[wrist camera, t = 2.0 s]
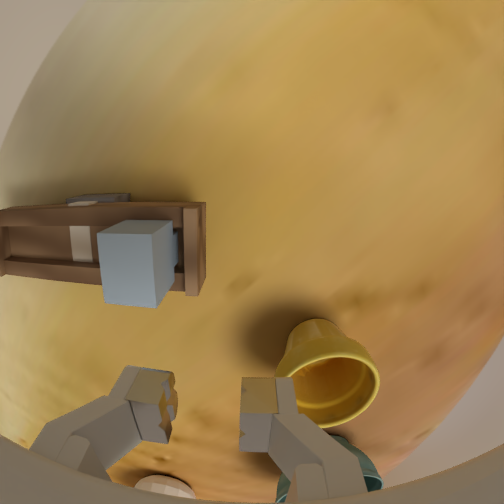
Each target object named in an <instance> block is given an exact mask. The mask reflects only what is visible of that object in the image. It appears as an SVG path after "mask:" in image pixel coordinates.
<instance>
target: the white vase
mask: <svg viewBox="0 0 504 504" xmlns="http://www.w3.org/2000/svg"><path fill="white" fill-rule="evenodd" d="M134 488H137V489H141V490H146V491H151V492H155V493H161V494H166V495H172V496H178V497H185V498H192V499H196V497H195V494H194V491H193V490H192V489H191V488H190V487H188V486H187V485H186V484H185V483H183V482H181V481H179V480H178V479H174V478H171V477H168V476H162V475H151V476H148V477H145V478H142V479H141V480H140V481H139V482H138V483H137V484H136V485H135V487H134Z"/></svg>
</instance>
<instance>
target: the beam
mask: <svg viewBox="0 0 504 504" xmlns="http://www.w3.org/2000/svg"><path fill="white" fill-rule="evenodd" d="M125 220H173V231H178V259H179V261H178V263H177V264H176V265H175V267H174V279H175V281H174V283H173V284H172V286H171V287H170V289H169V290H168V291H183V292H185V293H186V296H198V295H199V292H200V290H201V288H202V285H203V283H204V281H205V278H206V202H130V193H118V194H91V195H81V196H77V197H72V198H68V199H66V204H50V205H33V206H17V207H10V208H6V209H2V210H0V276H1V277H2V276H4V275H5V274H8V275H16V276H23V277H31V278H39V279H47V280H56V281H65V282H74V283H84V284H94V285H102V279H101V271H100V263H99V253H98V243H97V233H98V232H100V231H103V230H105V229H107V228H109V227H111V226H113V225H116V224H118V223H120V222H122V221H125Z"/></svg>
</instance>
